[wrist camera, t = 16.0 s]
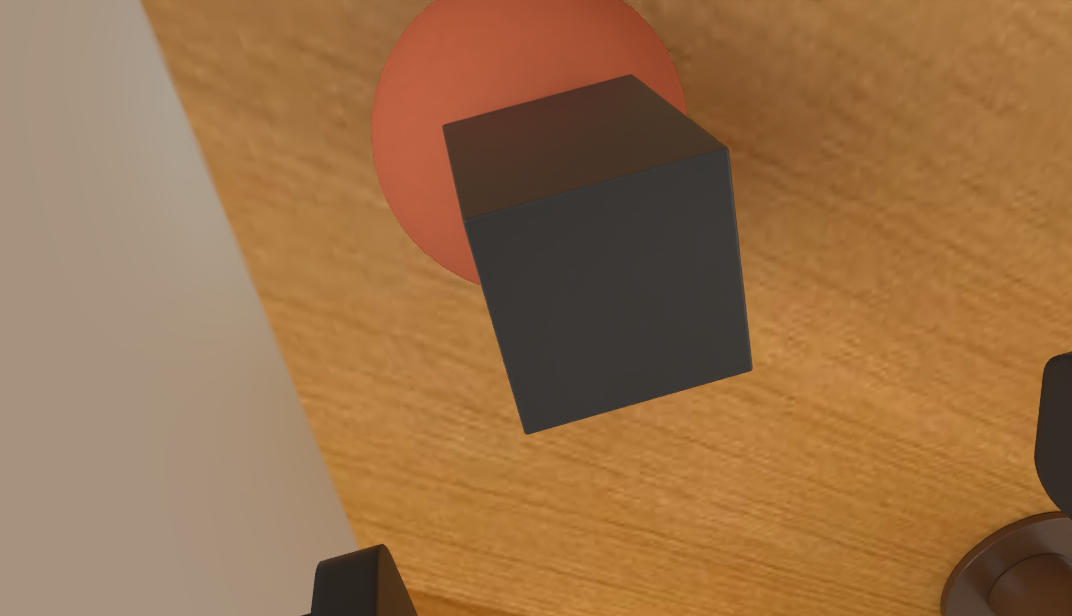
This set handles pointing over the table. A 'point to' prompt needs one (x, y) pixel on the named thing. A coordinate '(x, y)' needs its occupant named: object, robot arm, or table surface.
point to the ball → (491, 92)
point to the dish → (1016, 572)
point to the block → (602, 248)
